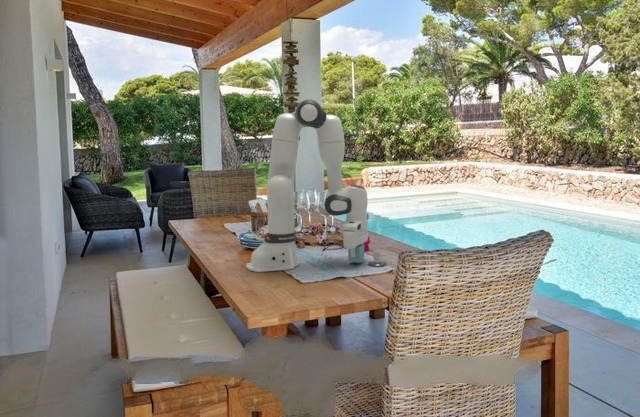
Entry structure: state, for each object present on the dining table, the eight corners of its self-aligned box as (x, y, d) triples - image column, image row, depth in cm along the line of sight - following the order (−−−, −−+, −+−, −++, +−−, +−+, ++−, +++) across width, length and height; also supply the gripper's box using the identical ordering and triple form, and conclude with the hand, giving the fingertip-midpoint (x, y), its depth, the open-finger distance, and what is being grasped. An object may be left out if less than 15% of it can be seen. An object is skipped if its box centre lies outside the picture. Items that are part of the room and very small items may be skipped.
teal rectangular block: (359, 262, 248) (360, 247, 247) (348, 261, 250) (348, 246, 249) (364, 260, 253) (364, 244, 252) (352, 258, 255) (352, 243, 254)
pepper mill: (369, 252, 274) (368, 209, 271) (353, 251, 275) (353, 209, 273) (370, 248, 281) (370, 207, 278) (355, 248, 282) (355, 206, 280)
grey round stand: (383, 267, 244) (383, 254, 243) (365, 266, 247) (365, 252, 247) (389, 263, 251) (389, 250, 251) (371, 261, 255) (371, 249, 254)
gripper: (358, 219, 260) (357, 249, 262) (340, 226, 242) (340, 259, 243) (372, 220, 257) (371, 251, 259) (355, 227, 239) (354, 260, 241)
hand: (356, 255), depth 251 cm, fingers closed on teal rectangular block, 5 cm apart
